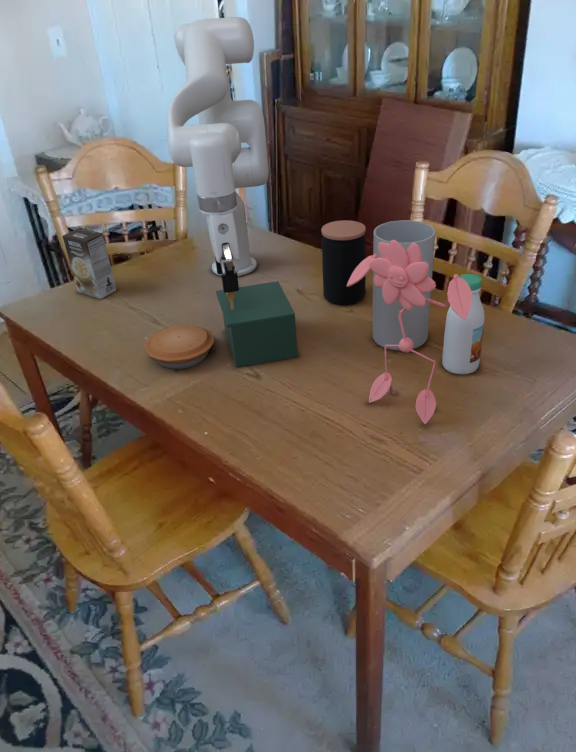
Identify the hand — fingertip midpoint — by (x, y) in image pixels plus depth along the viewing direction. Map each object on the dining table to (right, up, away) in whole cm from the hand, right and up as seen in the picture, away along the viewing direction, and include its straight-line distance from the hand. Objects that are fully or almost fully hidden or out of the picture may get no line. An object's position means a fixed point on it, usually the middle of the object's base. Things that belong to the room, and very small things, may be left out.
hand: (228, 282), depth 140 cm
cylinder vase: (+38, -11, +10) cm, 41 cm away
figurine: (+33, -29, -14) cm, 46 cm away
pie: (-11, -15, +9) cm, 21 cm away
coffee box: (-40, +6, +38) cm, 55 cm away
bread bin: (+6, -12, +11) cm, 17 cm away
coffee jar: (+27, +2, +28) cm, 38 cm away
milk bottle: (+50, -18, 0) cm, 53 cm away
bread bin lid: (+5, -4, +5) cm, 8 cm away
